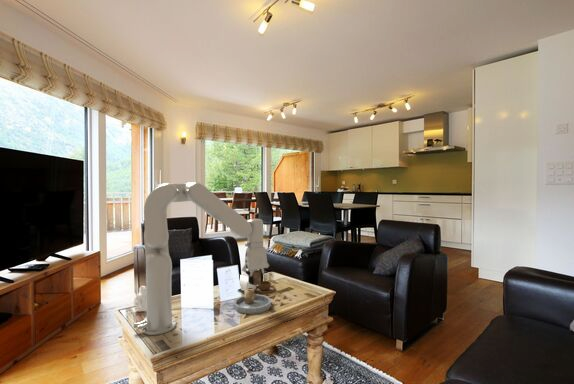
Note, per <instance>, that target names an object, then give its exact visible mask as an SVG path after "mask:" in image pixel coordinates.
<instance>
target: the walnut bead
mask: <svg viewBox="0 0 574 384" xmlns="http://www.w3.org/2000/svg"><path fill="white" fill-rule="evenodd" d="M252 276H253V285H257V286H258V285H259V284H261V271H260V270H259V269H258V270H253V274H252Z"/></svg>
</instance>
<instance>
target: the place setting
mask: <svg viewBox="0 0 574 384" xmlns="http://www.w3.org/2000/svg"><path fill="white" fill-rule="evenodd" d="M248 289H253V288H248ZM258 289H259V290H258ZM270 289H272V290H270ZM275 291H276V286H274V285H272V284H271V281H269V280H263V282H261V284H259V285H257V286H256V289H255V290H254V293H256V294H260V295H265V294H271V293H274V292H275Z"/></svg>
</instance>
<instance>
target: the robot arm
mask: <svg viewBox="0 0 574 384" xmlns="http://www.w3.org/2000/svg"><path fill="white" fill-rule="evenodd" d="M181 202H192V203H193V204H195V205H196V206H197V207H199V208H200V209H201V210H202V211H203V212H205V213H206V214H207V215H208V216H209V217H211V218H212V219H214V220H216V221H218V222H220V223H222V224H224V225H225V226H226V227H228V229H229V230H230V232H231V233H232V234H233V235H235V236H238V237H239V238H247V242H246V243H244V246H245V247H246V249H245V253H244V255H245V256H244V265H243V267H242V268H241V271H242V272H244V273H245V274H246V276H247V277H248V279H249V283H250V284H251V285H253V276H252V274H253V270H260V271H261V282H263V281H264V274H265V273H266V271H267V269H268V268H269V267H270V264H269V262H268V257H267V250H266V247H265V246H264V221H263V220H262V219H261V218H249V219H246V218H245V217H243V216H242V215H241V214H240V213H239V212H237V211H236V210H234V209H233V208H232V207H231V206H229V205H228V204H227V203H226V202H225V201H223V200H222V199H220V198H219V197H218V196H217V195H216V194H214V192H213V191H211V190H210V189H209V188H207V186H205V185H204V184H202V183H200V182H197V181H193V182H184V183H182V182H181V183H178V182H177V183H171V182H164V183H161V184H160V185H159V186H157V187H155V188H154V189H153V190H152V191H151V192H150V193H149V194H148V195H147V197H146V199H145V202H144V206H143V220H144V221H143V222H144V224H143V225H144V232H143V240H144V241H143V242H144V243H143V244H144V257H145V287H146V307H147V312H146V316H145V317H144V320H142V321H139V322H138V321H137V322H133V329H137V330H140V329H141V330H142V333H143V334H145V335H148V336H156V335H162V334H166V333H168V332H170V331H172V330H173V329H175V328H176V324H177V323H176V320H175V319H173V314H172V313H173V310H172V307H173V305H172V303H173V302H172V299H173V298H172V296H173V295H172V274H173V273H172V271H173V262H172V258H171V256H170V252H169V240H170V239H169V236H170V234H169V233H170V232H169V230H168V229H169V228H168V218H167V216H168V214H167V211H168V207H169V205H170V204H171V203H181Z"/></svg>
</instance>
